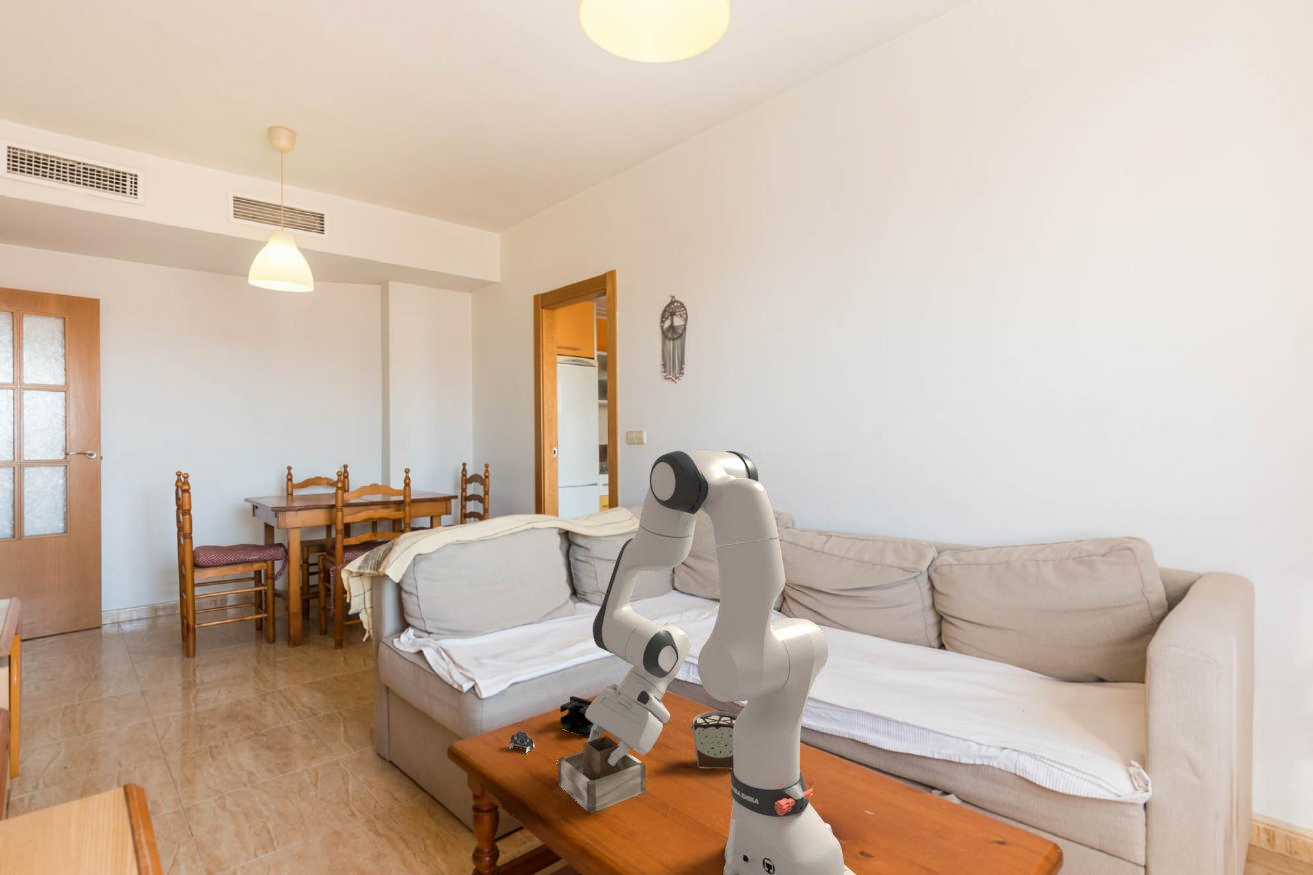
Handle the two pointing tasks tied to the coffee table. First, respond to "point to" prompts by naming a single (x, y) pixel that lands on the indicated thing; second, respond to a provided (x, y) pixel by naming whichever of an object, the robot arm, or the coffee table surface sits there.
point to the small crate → (599, 758)
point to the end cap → (576, 716)
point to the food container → (714, 739)
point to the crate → (601, 782)
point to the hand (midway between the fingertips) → (598, 756)
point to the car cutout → (521, 741)
